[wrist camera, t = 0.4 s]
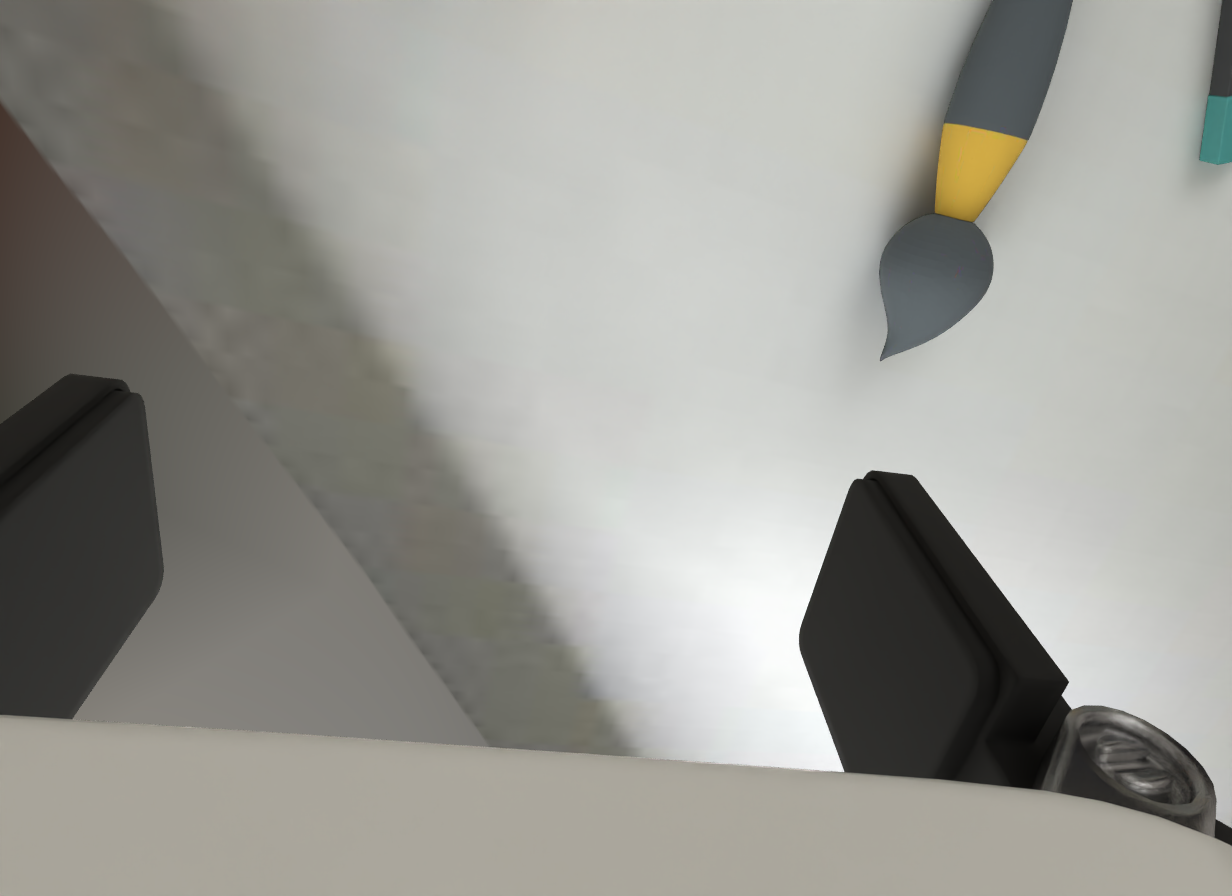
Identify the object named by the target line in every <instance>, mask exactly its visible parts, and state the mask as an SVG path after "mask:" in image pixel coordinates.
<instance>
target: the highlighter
mask: <svg viewBox="0 0 1232 896" xmlns="http://www.w3.org/2000/svg"><path fill="white" fill-rule="evenodd" d="M1200 161H1204V162H1208V163H1213V164H1217V165H1220V164H1224V163H1229V162H1232V0H1223V1H1222V8H1221V16H1220V23H1219V30H1218V37H1217V44H1216V52H1215V59H1214V66H1213V73H1212V80H1211V88H1210V95H1209V96H1208V102H1207V109H1206V116H1205V123H1204V131H1203V138H1202V145H1201V152H1200Z"/></svg>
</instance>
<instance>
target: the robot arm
mask: <svg viewBox="0 0 1232 896" xmlns="http://www.w3.org/2000/svg"><path fill="white" fill-rule="evenodd" d="M163 572H164V567H163V557H162V548H161V540H160V531H159V523H158V515H157V506H156V497H155V489H154V480H153V473H152V464H151V455H150V446H149V438H148V430H147V421H146V412H145V405H144V401H143V399H142V397H141V395H139V394H138V393H131V392H130V390H129V388H128V386H127V384H126V383H125V382H124V381H123V380H118V379H110V378H102V377H93V376H85V375H77V374H69V375H67V376H65V377H63V378H62V379H60V380H59V381H58V382H56V383H55V384H54V385H52V386H51V387H50V388H48V389H47V390H46V391H44V392H43V393H42V394H40V395H39V396H38V397H36V398H35V399H34V400H32V401H31V402H30V403H28V404H27V405H25V406H24V407H23V408H21V409H20V410H19V411H17V412H16V413H15V414H14V415H12V416H11V417H9V418H8V419H7V420H5V421H4V422H3V423H1V424H0V896H1232V829H1231V828H1230V827H1228V826H1226V825H1225V824H1223V823H1221V822H1220V821H1218V820H1216V795H1215V790H1214V786H1213V783H1212V781H1211V780H1210V778H1209V776H1208V775H1207V773H1206V771H1205V770H1204V768H1203V766H1202V765H1201V764H1200V763H1199V762H1198V761H1197V760H1196V759H1195V758H1194V757H1193V756H1192V755H1191V753H1190V752H1189V751H1188V750H1187V749H1186V748H1184V747H1183V746H1182V745H1181V744H1179V743H1178V742H1177V741H1176V740H1174V739H1173V738H1172V737H1170V736H1169V735H1168V734H1167V733H1165V732H1163V731H1162V730H1160V729H1158V728H1157V727H1155V726H1153V725H1152V724H1150V723H1148V722H1147V721H1145V720H1143V719H1140V718H1138V717H1136V716H1133V715H1131V714H1129V713H1126V712H1124V711H1121V710H1117V709H1113V708H1109V707H1105V706H1085V705H1084V706H1081V707H1078V708H1076V709H1073V710H1072V709H1071V708H1070V707H1069V705H1068V704H1067V703H1066V701H1065V700H1064V698H1063V697H1062V696H1061V695H1062V693H1063V692H1064V690H1065V688H1066V686H1067V685H1068V683H1069V681H1068V680H1067V678H1066V677H1065V676H1064V674H1063V673H1062V672H1061V670H1060V669H1059V668H1058V666H1057V665H1056V664H1055V662H1054V661H1053V660H1052V658H1051V657H1050V656H1049V654H1048V653H1047V652H1046V650H1045V649H1044V648H1043V646H1042V645H1041V644H1040V642H1039V641H1038V640H1037V638H1036V637H1035V636H1034V634H1033V633H1032V632H1031V630H1030V629H1029V628H1028V627H1027V625H1026V624H1025V623H1024V621H1023V620H1022V619H1021V617H1020V616H1019V615H1018V613H1017V612H1016V611H1015V609H1014V608H1013V607H1012V605H1011V604H1010V603H1009V601H1008V600H1007V599H1006V597H1005V596H1004V595H1003V593H1002V592H1001V591H1000V589H999V588H998V587H997V585H996V584H995V583H994V581H993V580H992V579H991V577H990V576H989V575H988V573H987V572H986V571H985V569H984V568H983V567H982V565H981V564H980V563H979V561H978V560H977V559H976V557H975V556H974V555H973V553H972V552H971V551H970V549H969V548H968V547H967V545H966V544H965V543H964V541H963V540H962V539H961V537H960V536H959V535H958V533H957V532H956V531H955V529H954V528H953V527H952V525H951V524H950V523H949V521H948V520H947V519H946V517H945V516H944V515H943V513H942V512H941V511H940V509H939V508H938V507H937V505H936V504H935V503H934V501H933V500H932V499H931V497H930V496H929V495H928V493H927V492H926V491H925V489H924V488H923V487H922V485H921V484H920V483H919V481H918V480H917V479H916V478H915V477H914V476H913V475H907V474H898V473H890V472H882V471H873V470H872V471H870V472H868V473H867V474H866V476H865V477H864V479H856V480H854V482H853V483H852V484H851V486H850V488H849V491H848V494H847V497H846V499H845V502H844V505H843V508H842V511H841V514H840V516H839V519H838V522H837V525H836V528H835V531H834V533H833V536H832V539H831V542H830V545H829V548H828V550H827V553H826V556H825V559H824V562H823V565H822V567H821V570H820V573H819V576H818V579H817V582H816V585H815V587H814V590H813V593H812V596H811V599H810V602H809V604H808V607H807V610H806V613H805V616H804V619H803V621H802V624H801V628H800V634H799V646H800V652H801V655H802V658H803V660H804V663H805V666H806V669H807V671H808V674H809V677H810V679H811V682H812V685H813V687H814V690H815V693H816V696H817V698H818V701H819V704H820V706H821V709H822V712H823V715H824V717H825V720H826V723H827V725H828V728H829V731H830V733H831V736H832V739H833V742H834V744H835V747H836V750H837V752H838V755H839V758H840V760H841V763H842V766H843V769H844V771H845V772H833V771H819V770H806V769H792V768H779V767H765V766H752V765H739V764H725V763H711V762H696V761H682V760H667V759H653V758H638V757H624V756H609V755H594V754H580V753H565V752H551V751H536V750H522V749H507V748H493V747H478V746H463V745H462V746H461V745H449V744H434V743H420V742H405V741H390V740H375V739H362V738H347V737H332V736H318V735H304V734H290V733H275V732H260V731H246V730H231V729H215V728H199V727H183V726H168V725H152V724H137V723H121V722H105V721H90V720H73V719H72V718H73V717H74V715H75V714H76V713H77V711H78V710H79V708H80V707H81V705H82V704H83V702H84V701H85V699H86V698H87V697H88V695H89V694H90V692H91V691H92V689H93V687H94V686H95V685H96V683H97V682H98V680H99V679H100V678H101V676H102V675H103V673H104V672H105V670H106V669H107V667H108V666H109V664H110V663H111V662H112V660H113V659H114V657H115V655H116V654H117V653H118V651H119V650H120V649H121V647H122V645H123V644H124V643H125V641H126V640H127V638H128V637H129V635H130V634H131V633H132V631H133V630H134V628H135V627H136V625H137V624H138V622H139V621H140V619H141V618H142V616H143V615H144V614H145V612H146V610H147V609H148V608H149V606H150V605H151V603H152V602H153V601H154V599H155V598H156V596H157V594H158V592H159V590H160V587H161V584H162V580H163Z"/></svg>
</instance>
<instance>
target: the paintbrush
mask: <svg viewBox="0 0 1232 896" xmlns="http://www.w3.org/2000/svg"><path fill="white" fill-rule="evenodd" d="M1072 2H1073V0H993V1H992V3H991V5H990V7H989V9H988V11H987V13H986V15H985V18H984V20H983V22H982V24H981V27H980V29H979V31H978V33H977V35H976V38H975V40H974V42H973V44H972V47H971V49H970V51H969V54H968V56H967V59H966V61H965V64H964V66H963V69H962V71H961V74H960V76H959V79H958V82H957V85H956V87H955V90H954V93H953V96H952V98H951V101H950V104H949V107H948V111H947V114H946V117H945V121H944V125H943V130H942V137H941V145H940V152H939V162H938V172H937V182H936V197H935V213H933V214H928V215H925V216H922V217H919V218H917V219H915V220H913V221H911V222H910V223H908V224H906V225H905V226H904V227H902V228H901V229H900V230H899V231H898V232H897V233H896V234H895V235H894V236H893V237H892V238H891V240H890V241H889V242H888V244H887V246H886V247H885V249H884V252H883V254H882V257H881V261H880V270H879V276H880V286H881V293H882V297H883V302H884V306H885V311H886V316H887V323H888V334H887V339H886V343H885V346H884V349H883V351H882V354H881V357H880V361H882V360H883V359H885V358H887V357H889V356H892V355H895V354H897V353H900V352H903V351H906V350H908V349H911V348H914V347H916V346H918V345H921V344H923V343H925V342H927V341H929V340H931V339H933V338H935V337H937V336H938V335H940V334H942V333H943V332H945V331H946V330H948V329H949V328H951V327H952V326H953V325H955V324H956V323H957V322H958V321H960V320H961V319H962V318H963V317H964V316H966V315H967V314H968V313H969V312H970V311H971V310H972V309H973V308H974V307H975V306H976V305H977V304H978V303H979V301H980V300H981V299H982V297H983V296H984V295H985V293H986V292H987V290H988V288H989V285H990V283H991V280H992V275H993V264H994V263H993V255H992V251H991V247H990V245H989V242H988V240H987V239H986V237H985V235H984V234H983V232H982V231H981V230H980V229H979V228H978V227H977V226H976V225H975V224H974V223H973V222H974V221H975V220H976V218H977V217H978V216H979V214H980V213H981V212H982V210H983V209H984V207H985V206H986V205H987V203H988V202H989V200H990V199H991V198H992V196H993V195H994V193H995V192H996V190H997V189H998V187H999V186H1000V184H1001V183H1002V181H1003V180H1004V178H1005V177H1006V175H1007V174H1008V172H1009V171H1010V169H1011V168H1012V166H1013V165H1014V163H1015V161H1016V160H1017V158H1018V157H1019V155H1020V153H1021V152H1022V150H1023V149H1024V147H1025V145H1026V143H1027V141H1028V140H1029V137H1030V135H1031V133H1032V131H1033V128H1034V126H1035V123H1036V121H1037V118H1038V116H1039V113H1040V110H1041V108H1042V105H1043V102H1044V99H1045V97H1046V94H1047V91H1048V88H1049V85H1050V82H1051V79H1052V76H1053V73H1054V70H1055V67H1056V64H1057V60H1058V57H1059V53H1060V49H1061V46H1062V42H1063V39H1064V35H1065V31H1066V28H1067V23H1068V19H1069V15H1070V10H1071V6H1072Z"/></svg>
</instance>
